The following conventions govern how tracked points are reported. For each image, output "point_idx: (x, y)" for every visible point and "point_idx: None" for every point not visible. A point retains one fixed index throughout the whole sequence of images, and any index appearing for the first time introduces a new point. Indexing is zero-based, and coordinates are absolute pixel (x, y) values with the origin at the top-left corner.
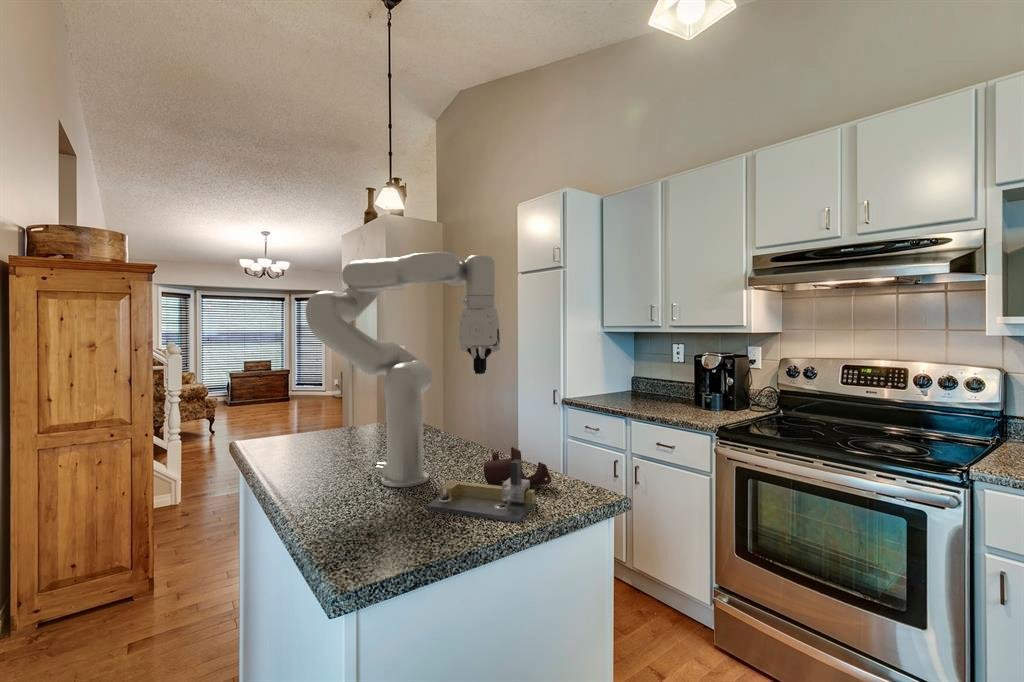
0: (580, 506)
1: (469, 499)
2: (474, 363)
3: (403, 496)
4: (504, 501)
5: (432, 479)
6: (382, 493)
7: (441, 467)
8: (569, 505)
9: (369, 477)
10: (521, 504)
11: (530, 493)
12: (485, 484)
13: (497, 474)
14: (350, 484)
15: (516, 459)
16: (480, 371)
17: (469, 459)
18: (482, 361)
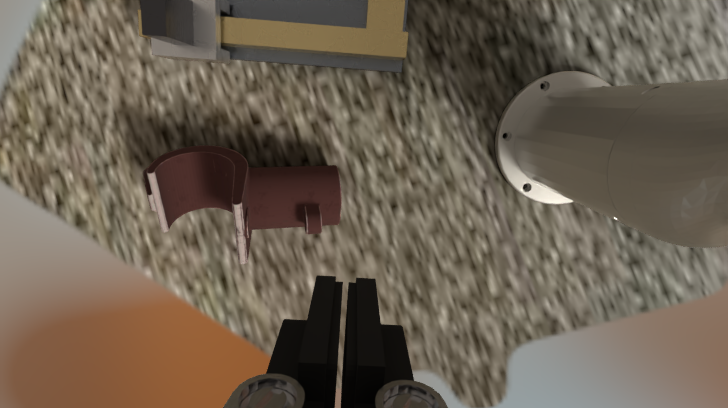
0: (48, 65)
1: (322, 3)
2: (397, 360)
3: (512, 13)
4: None
5: (488, 170)
6: (577, 21)
7: (501, 276)
8: (77, 65)
9: None
10: None
11: None
12: (289, 47)
13: (295, 166)
14: (694, 68)
15: (160, 34)
16: (315, 284)
17: (450, 364)
18: (289, 373)
